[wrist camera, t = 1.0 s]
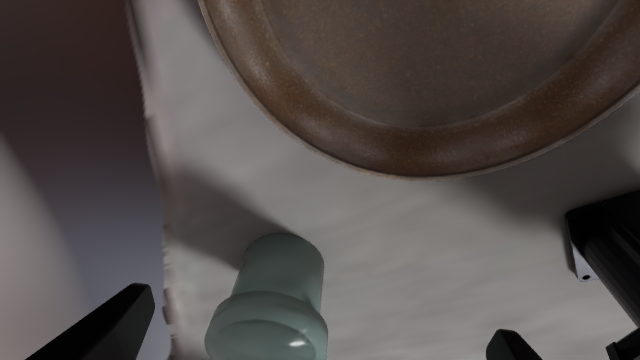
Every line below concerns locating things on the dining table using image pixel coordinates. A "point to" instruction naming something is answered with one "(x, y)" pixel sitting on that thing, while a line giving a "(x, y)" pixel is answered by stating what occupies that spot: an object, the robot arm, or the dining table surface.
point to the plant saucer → (430, 76)
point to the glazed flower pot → (273, 305)
